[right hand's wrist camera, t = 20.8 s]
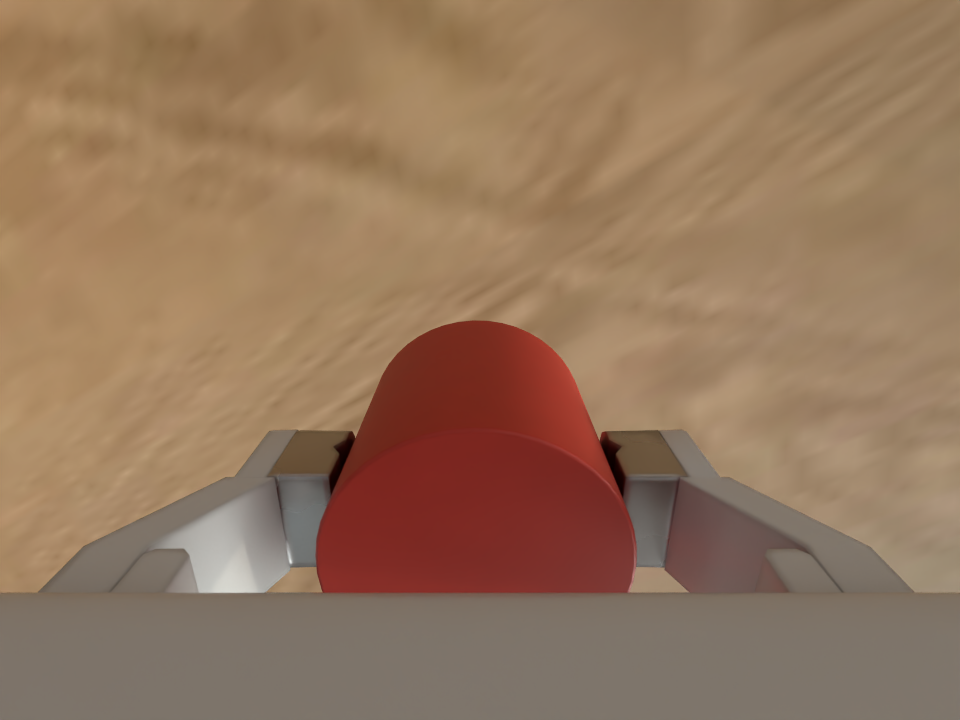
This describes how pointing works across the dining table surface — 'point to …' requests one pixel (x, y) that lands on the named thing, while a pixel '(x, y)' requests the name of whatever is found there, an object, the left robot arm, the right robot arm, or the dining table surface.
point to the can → (476, 477)
